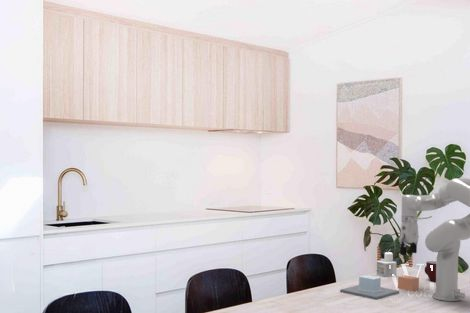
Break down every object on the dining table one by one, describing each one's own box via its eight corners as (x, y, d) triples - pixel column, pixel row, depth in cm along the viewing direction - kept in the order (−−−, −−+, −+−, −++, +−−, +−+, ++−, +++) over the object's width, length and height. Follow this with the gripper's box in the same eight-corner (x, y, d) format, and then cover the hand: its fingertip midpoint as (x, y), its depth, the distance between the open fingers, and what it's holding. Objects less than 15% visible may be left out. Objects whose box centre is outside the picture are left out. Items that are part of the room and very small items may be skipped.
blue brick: (380, 290, 283) (380, 277, 283) (373, 292, 279) (373, 279, 279) (366, 287, 289) (366, 275, 289) (359, 289, 285) (359, 276, 285)
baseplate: (399, 293, 284) (399, 290, 284) (376, 299, 270) (376, 296, 270) (363, 286, 298) (363, 283, 298) (340, 292, 284) (340, 289, 284)
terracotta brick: (418, 289, 292) (418, 277, 292) (412, 291, 288) (412, 279, 288) (404, 287, 298) (404, 275, 298) (397, 288, 294) (398, 276, 294)
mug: (419, 279, 316) (419, 261, 316) (428, 278, 321) (429, 259, 321) (435, 283, 308) (435, 264, 308) (445, 281, 312) (445, 263, 312)
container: (376, 274, 329) (376, 251, 329) (387, 273, 333) (387, 250, 333) (385, 277, 322) (385, 253, 322) (396, 276, 326) (397, 252, 326)
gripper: (407, 221, 285) (406, 256, 285) (424, 219, 297) (424, 253, 297) (393, 219, 290) (392, 254, 290) (411, 217, 302) (410, 251, 302)
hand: (408, 253), depth 294 cm, fingers open, 9 cm apart
